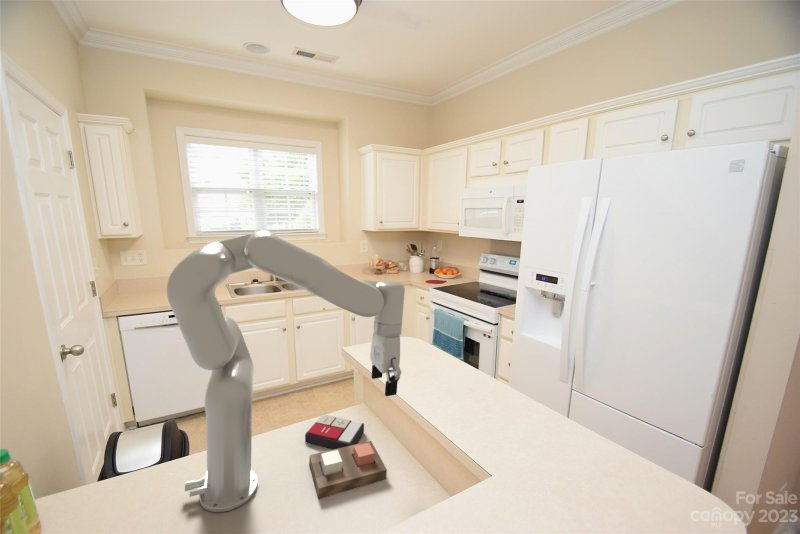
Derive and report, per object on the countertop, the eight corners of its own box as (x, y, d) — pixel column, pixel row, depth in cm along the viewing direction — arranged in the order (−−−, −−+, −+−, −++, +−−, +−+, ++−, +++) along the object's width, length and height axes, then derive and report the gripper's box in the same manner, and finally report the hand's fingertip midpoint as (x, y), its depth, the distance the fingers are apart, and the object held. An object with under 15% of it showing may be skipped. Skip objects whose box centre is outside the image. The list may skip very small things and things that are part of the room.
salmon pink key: (357, 470, 89) (358, 457, 88) (352, 459, 93) (353, 446, 92) (373, 466, 91) (374, 453, 90) (367, 455, 95) (368, 442, 94)
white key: (324, 479, 85) (325, 465, 84) (320, 467, 89) (321, 453, 88) (341, 475, 87) (342, 461, 86) (337, 463, 91) (337, 449, 90)
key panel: (318, 499, 81) (318, 488, 80) (309, 464, 91) (309, 455, 91) (386, 479, 88) (386, 469, 88) (370, 449, 99) (371, 440, 99)
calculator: (322, 412, 110) (364, 420, 106) (322, 424, 111) (364, 433, 107) (304, 432, 100) (350, 442, 96) (304, 445, 100) (350, 455, 96)
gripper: (363, 318, 95) (360, 373, 98) (388, 340, 80) (383, 405, 83) (387, 316, 99) (383, 370, 101) (415, 337, 83) (409, 400, 86)
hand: (383, 386), depth 92 cm, fingers open, 9 cm apart
